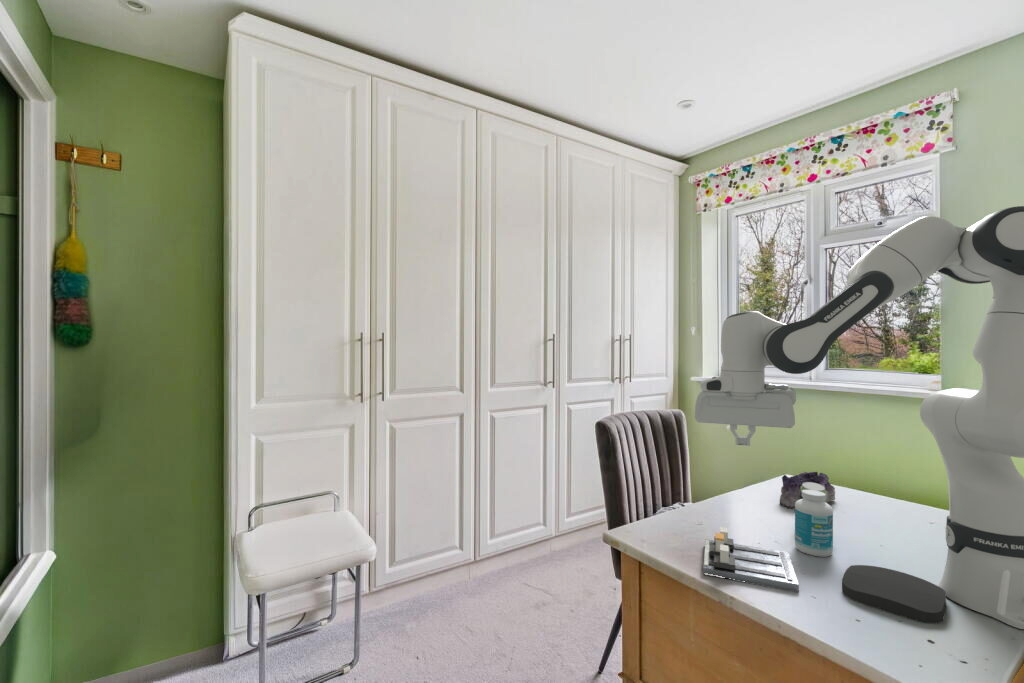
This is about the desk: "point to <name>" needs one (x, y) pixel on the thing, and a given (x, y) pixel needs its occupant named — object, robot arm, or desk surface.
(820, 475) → the geode
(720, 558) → the breaker
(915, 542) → the desk surface
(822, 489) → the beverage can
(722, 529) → the breaker
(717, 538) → the breaker trip
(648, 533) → the desk surface
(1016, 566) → the robot arm
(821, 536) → the pill bottle
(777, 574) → the panel
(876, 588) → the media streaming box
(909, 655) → the desk surface
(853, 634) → the desk surface
